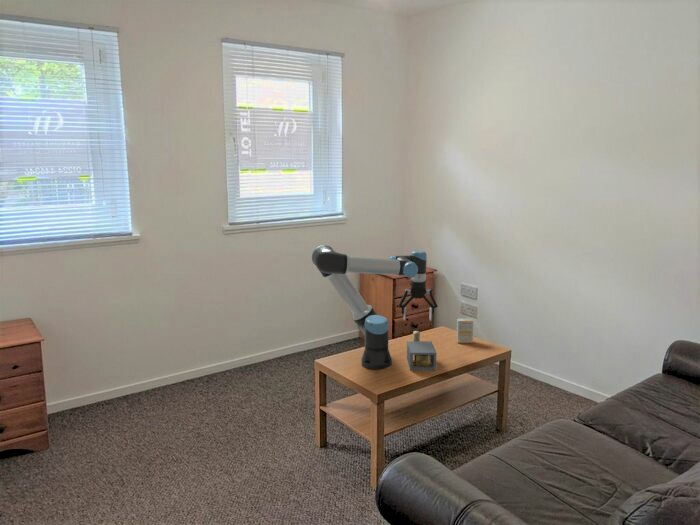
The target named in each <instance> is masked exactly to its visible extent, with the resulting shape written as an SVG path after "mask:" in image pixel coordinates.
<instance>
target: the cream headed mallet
mask: <svg viewBox="0 0 700 525" xmlns="http://www.w3.org/2000/svg"><path fill="white" fill-rule="evenodd" d="M412 334H413V336H412V341H421V340H420V339H421V338H420V337H421V335H420V334H421V332H420V331H419V330H414V331H413V332H412ZM413 364H414V367H424V366H429V355H414V360H413Z"/></svg>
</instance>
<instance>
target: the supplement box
mask: <svg viewBox="0 0 700 525" xmlns="http://www.w3.org/2000/svg"><path fill="white" fill-rule="evenodd" d="M456 323H457V324H456V342H457V344H473V343H474V342H473V341H474V340H473V339H474V338H473V335H474V320H473V318H467V317H466V318H461V317H460V318H459V317H458V318H457V321H456Z"/></svg>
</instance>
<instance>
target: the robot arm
mask: <svg viewBox="0 0 700 525" xmlns="http://www.w3.org/2000/svg"><path fill="white" fill-rule="evenodd" d="M427 258H428V256H427V252H426V251H424V250H413V251H411V254H409V255H393V256H389V258H377V257H364V256H363V257H362V256H350V255H349V254H347V253H340V252H337V251H335V250H334V249H333V248H332V247H331V246H330V245H326V244H322V245H319V246H316V248H314V250H313V251H312V253H311V260H312V261H311V262H313V263H312V264H314V266H316V269H318V271H319V273H320V274H321V275H322V276H323V278H327V279H328V280H329V282H330V283H331V285H332V286H333V287H334V289H335V290H336V292H337V293H338V294H339V296H340V298H341V299H342V300H343V301H344V303H345V304H346V306H347V308H348V309H349V311H351V313H352V319H353V322H354V323H355V325H356V326H357V328H358V329H359V330H360V332H361V333H362V334H363V336H364V350H363V353H362V356H361V358H360V359H361V365H362V367H365V369H370V370H383V369H388V368H389V367H392V364H393V359H392V356H391V352H390V350H389V328H390V325H389V320H388V318H387V317H385V316H382V315H381V314H380V315H379V314H377V312H376V311H375V309H374V307H373V306H372V305H371V304H367V303H366V300H364V298H363V297H362V295H361V294H360V292H359V291H358V289H357V288H356V286H355V285H354V283H353V282H352V280H351V279H350V278H349V276H348V275H347V274H348V273H353V274H354V273H355V274H368V275H369V274H371V275H388V276H389V275H391V276H402V277H407V278H409V279H411V281H410V289H404V293H403V295H402V297H401V299H400V301H399V302H398V306H397V307H399V308H401V314H402V315H403V321H405V322H406V318H407V317H406V314H407V311H406V310H407V309H406V307H407V305H409V304H410V302H411V301H412V300H413V299H416V300H417V299H420V300H421V299H423V300H425V302H426V303H427V304H428V305H429V321H430V322H431V321H433V320H432V318H433V316H432V315H434V313H435V308H438V303H437V301H436V300H435V298H434V296H433V291H432V290H431V288H430V289H427V288H426V286H427V282H426V280H427ZM408 294H410V295H409V297H408V298H407V296H408ZM426 294H427V295H429V297H430V299H431V301H432V302H433V304H432V302H431V301H430V300H429V298H427V297H426ZM406 298H407V299H406ZM405 300H406V301H405Z"/></svg>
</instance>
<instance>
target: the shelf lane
mask: <svg viewBox="0 0 700 525" xmlns="http://www.w3.org/2000/svg"><path fill="white" fill-rule="evenodd" d="M415 355H428V361H429V362H430V366H429V365H428V366H424V367H416V366H414V356H415ZM406 360H407V363H408V368H409V370H410V371H411V372H413V371H437V351H436V347H435V345H434V344H433V342H432V341H431V340H430V341H429V340H425V341H423V340H422V341H421V340H420V341H413V340H411V341H409V340H407V341H406Z"/></svg>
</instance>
